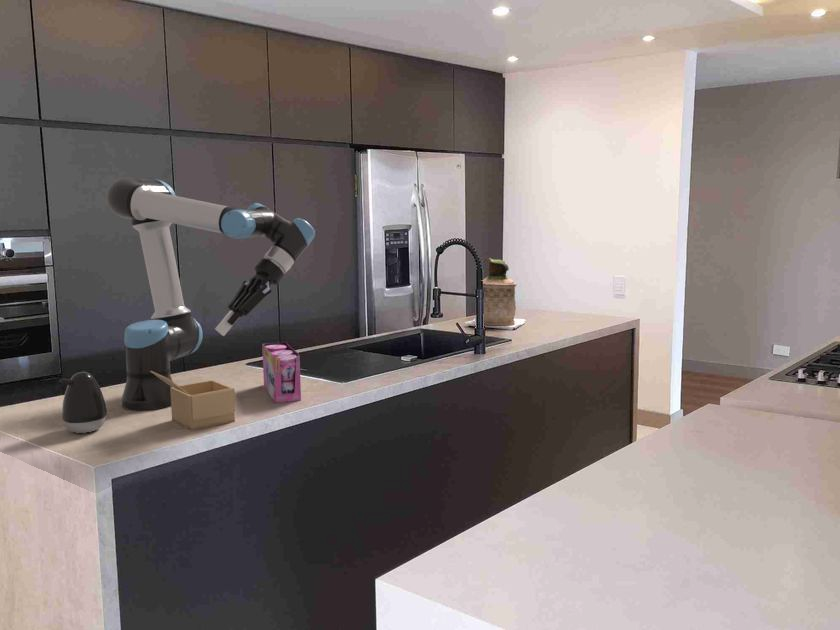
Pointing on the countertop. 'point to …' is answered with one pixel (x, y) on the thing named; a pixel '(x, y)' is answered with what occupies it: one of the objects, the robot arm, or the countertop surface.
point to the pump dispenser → (83, 404)
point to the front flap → (169, 382)
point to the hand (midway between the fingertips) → (219, 332)
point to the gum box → (281, 372)
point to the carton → (203, 405)
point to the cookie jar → (499, 298)
